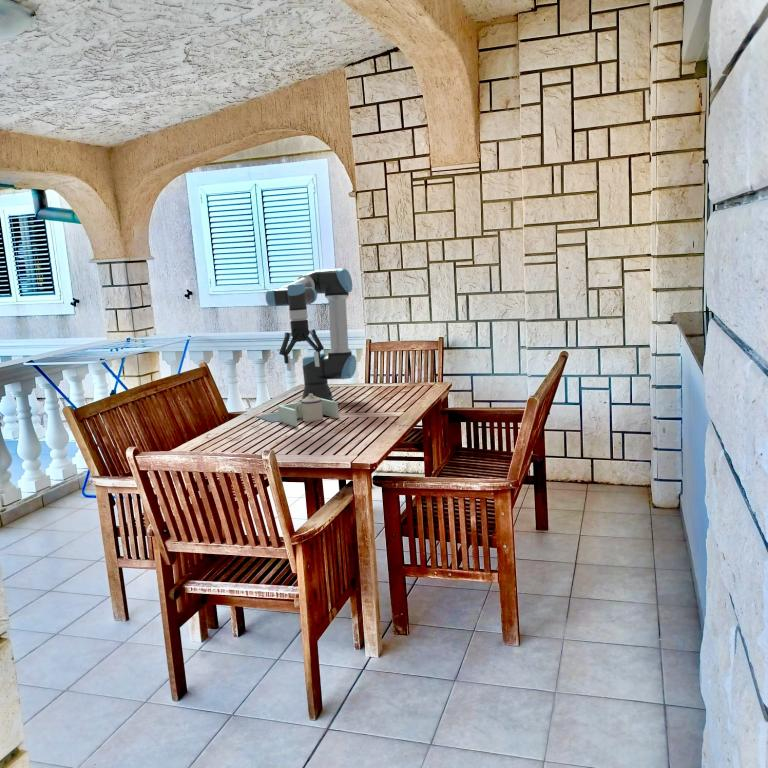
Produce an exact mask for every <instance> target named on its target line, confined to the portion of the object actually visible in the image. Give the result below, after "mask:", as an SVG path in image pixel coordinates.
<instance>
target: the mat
mask: <svg viewBox="0 0 768 768" xmlns="http://www.w3.org/2000/svg"><path fill="white" fill-rule="evenodd" d="M255 417H256V418H257V419H260V420H264V421H267V422H270V423H278V422H280V421H279V413H278V412H275V413H274V412H273V413H267V414H263V415H262V414H261V415H257V416H255Z"/></svg>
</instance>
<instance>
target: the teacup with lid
mask: <svg viewBox="0 0 768 768" xmlns="http://www.w3.org/2000/svg"><path fill="white" fill-rule="evenodd" d="M321 401H322V400H321V398H318V397H316V396H313V394H309V396H307V397H306V398H305V399H302V398H301V401H300V402H301V403H302V404H298V405H297V406H296V411H297V413H298V414H300V415H303V418H302V420H303V422H307V423H311V422H313V423H314V422H319V421H322V420H323V417H324V415H323V414H322V404H321ZM300 405H302V413H300V412H299V411H298V406H300Z"/></svg>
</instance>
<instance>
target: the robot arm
mask: <svg viewBox="0 0 768 768" xmlns="http://www.w3.org/2000/svg"><path fill="white" fill-rule="evenodd" d="M352 290H353V280H352V276H351V274H350V272H349V271H348V269H347V268H343V267H342V268H329V269H328V268H327V269H316V270H312V271H309V272H307V273H305V274H303V275H300V276H299V277H298V278H297V279H296V280H295V281H293V282H290V283H289V284H286V285H283V286H282V287H279V288H276V289H274V288H272V289H267V291H266V293H265V302H266V304H267V305H268V306H269V307H282V306H283V307H285V306H288V307H289V309H288V310H289V320H290V322H289V323H290V330H291V332H287V331H286V332H284V337H283V342H282V344H281V347H280V350H279V355H281V356H283V361H284V364H286V371H287V372H291V371H292V364H291V355H290V353H291V351H292V350H293V349H294V347H295V345H296V344H297V343H298V342H306V343H307V344H309V346H310V347H311V348H312V349H313V350H314V351H313V354H311V355H307V356H304V357H303V358H302V366H301V367H302V374H303V383H304V388H303V391H302V397H301V400H302V399H305V398H306V397H307V396H309V394H313V396H316V397H318V398H322V399H326V400H330V401H333V393H332V391H331V389H330V386H329V383H328V380H348V379H349V380H350V379H351V378H354V375H355V373H356V370H357V359H356V356H355V355H354V354H353V353H352V350H351V349H350V347H349V336H348V335H349V334H348V317H347V315H348V314H347V298H349V294H350V293H351V292H352ZM319 294H324V297H325V298H326V299H327V301H328V318H329V336H330V338H329V339H330V350H328V352H327V355H326V353H325V352H321V351H322V350H325V349H324V348H325V347H324V346H323V343H322V341H321V340H320V339H319V338H320V337H318V335H317V331H316V329H313V328H311V329H310V330H309V320H308V309H307V306H308V305H311V304H313V303H315V302H316V300H317V299H318V295H319ZM309 335H311V337H312V338H311V337H310V336H309ZM291 337H292V338H291ZM290 338H291V339H290ZM312 339H313V340H314V341H313V340H312ZM289 341H290V342H289Z"/></svg>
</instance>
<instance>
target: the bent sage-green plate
mask: <svg viewBox="0 0 768 768" xmlns="http://www.w3.org/2000/svg"><path fill="white" fill-rule="evenodd" d="M321 400H322V401H321V404H322V415H323V416H327V417H329V418H330V417H331V418H333V419H334V418H335V419H339V418H340V416H339V415H340V414H339V404H338V403H339V402H338V401H333V400H326V399H322V398H321ZM298 404H302V403H301V401H297V402H292V403H287V404H280V405H277V413H279V421H278V422H281V423H282V424H286V425H289V426H292V427H299V426H298V419H303V415H300V414H298V413H297V411H296V406H297V405H298ZM298 411H299V412H300V413H302V405H300V406H298Z"/></svg>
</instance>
